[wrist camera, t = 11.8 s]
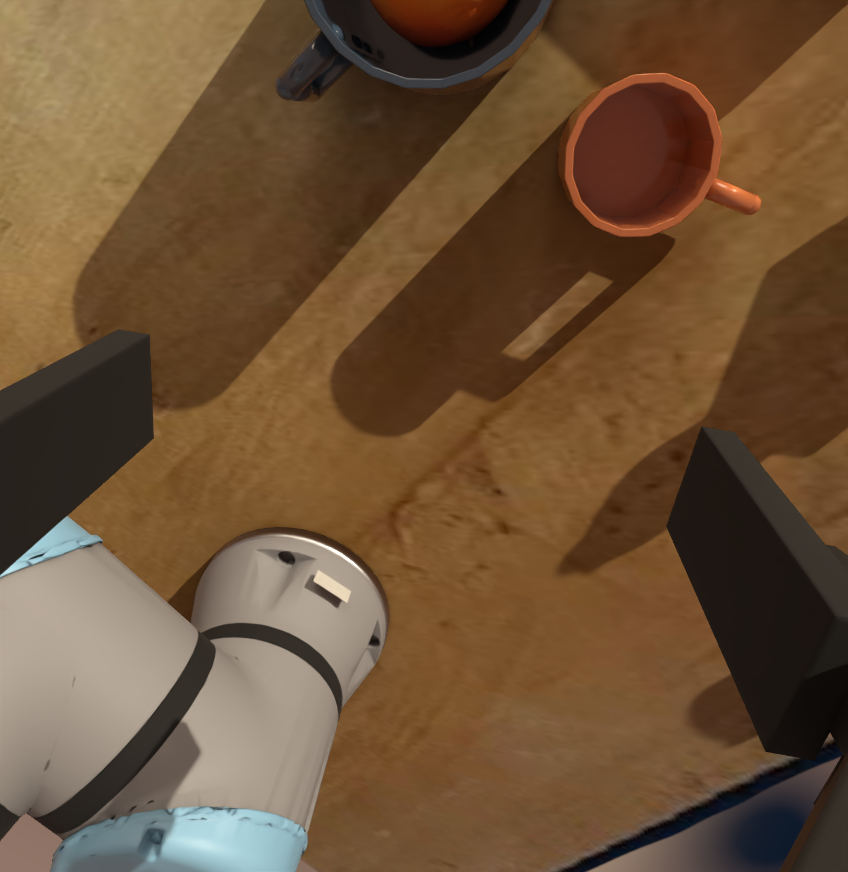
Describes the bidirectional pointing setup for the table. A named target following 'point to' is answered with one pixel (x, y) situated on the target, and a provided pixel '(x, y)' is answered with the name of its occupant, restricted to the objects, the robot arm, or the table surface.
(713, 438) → the robot arm
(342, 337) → the table surface
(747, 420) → the table surface
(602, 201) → the small cup
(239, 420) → the table surface
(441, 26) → the fruit
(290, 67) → the big cup
